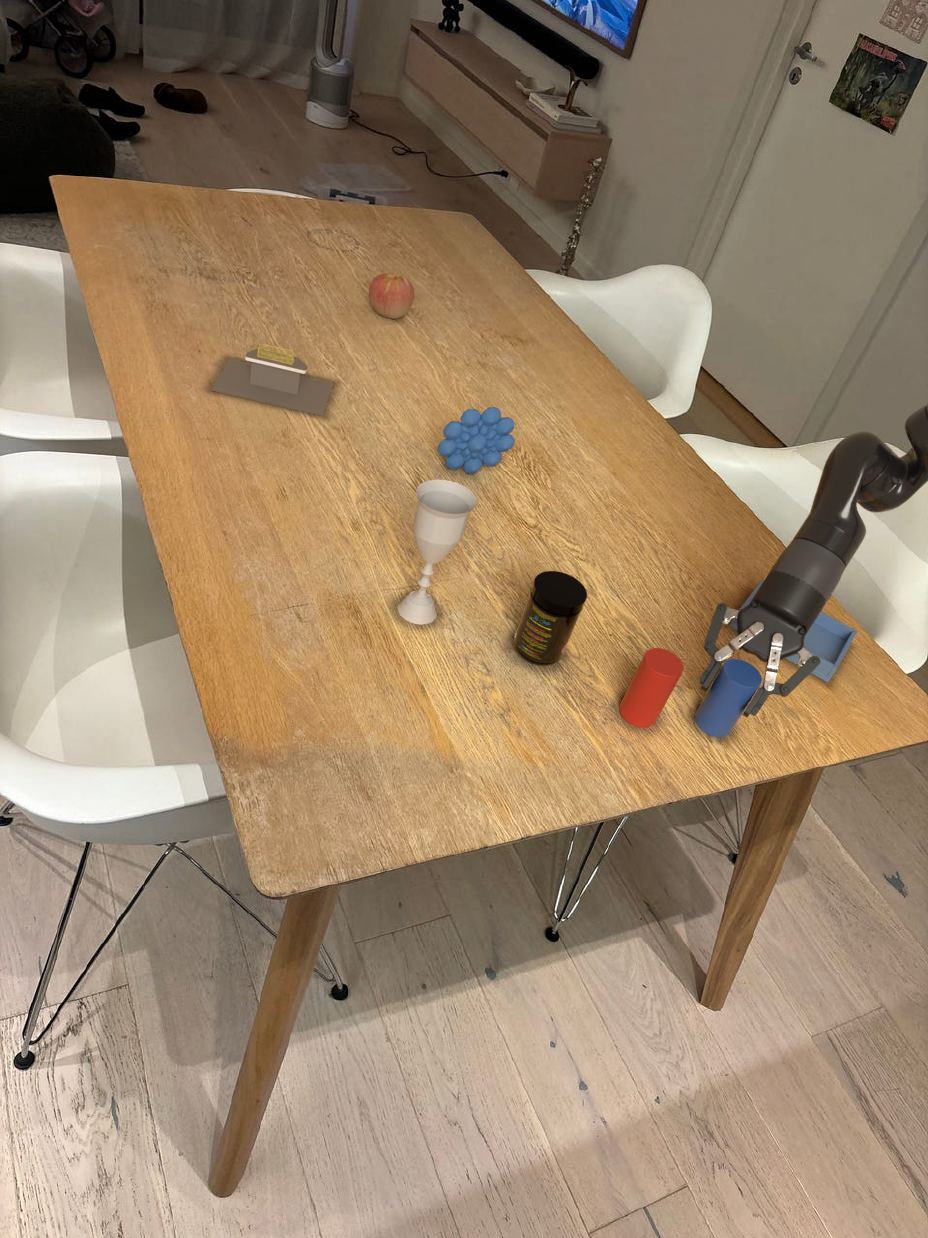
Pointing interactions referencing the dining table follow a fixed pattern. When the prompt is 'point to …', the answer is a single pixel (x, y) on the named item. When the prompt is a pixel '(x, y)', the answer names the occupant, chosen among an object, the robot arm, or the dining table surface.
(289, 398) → the platform
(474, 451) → the blue bubble cluster
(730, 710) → the blue pin
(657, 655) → the red pin
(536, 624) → the supplement container
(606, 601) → the dining table surface
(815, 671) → the blue tray
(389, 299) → the apple
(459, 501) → the chalice
